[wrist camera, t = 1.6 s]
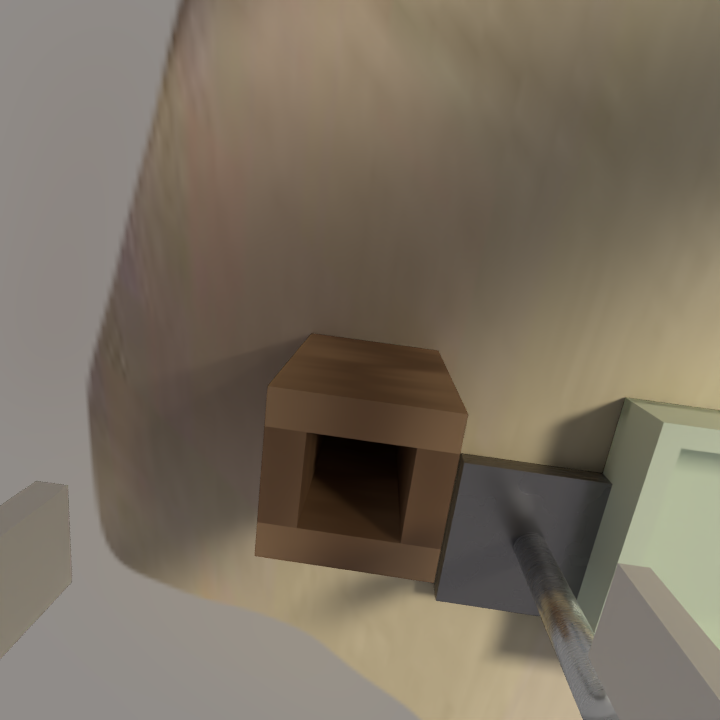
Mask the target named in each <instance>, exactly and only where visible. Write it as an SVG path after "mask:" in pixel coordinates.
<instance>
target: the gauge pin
mask: <svg viewBox="0 0 720 720" xmlns="http://www.w3.org/2000/svg"><path fill="white" fill-rule="evenodd" d="M612 485H613V484H612V483H611V482H610V481H609V480H608V479H607V478H606V477H605V475H604V474H603V473H596V472H589V471H582V470H575V469H568V468H561V467H554V466H547V465H540V464H533V463H526V462H519V461H512V460H505V459H498V458H491V457H484V456H477V455H470V454H463V453H461V456H460V461H459V466H458V471H457V476H456V480H455V485H454V490H453V495H452V500H451V505H450V510H449V515H448V519H447V524H446V529H445V534H444V539H443V544H442V549H441V554H440V558H439V563H438V568H437V573H436V578H435V583H434V591H435V599H436V601H442V602H449V603H455V604H462V605H469V606H475V607H482V608H488V609H495V610H502V611H508V612H515V613H521V614H528V615H535V616H541V619H542V621H543V623H544V626H545V628H546V631H547V633H548V636H549V638H550V640H551V643H552V645H553V648H554V650H555V653H556V655H557V658H558V660H559V662H560V665H561V667H562V670H563V672H564V675H565V677H566V680H567V682H568V684H569V687H570V689H571V692H572V694H573V697H574V699H575V701H576V704H577V706H578V709H579V711H580V714H581V716H582V718H583V720H619V718H618V716H617V714H616V712H615V710H614V708H613V706H612V704H611V702H610V700H609V698H608V696H607V694H606V692H605V690H604V688H603V686H602V684H601V682H600V680H599V678H598V676H597V674H596V672H595V670H594V668H593V666H592V664H591V662H590V660H589V658H588V654H589V651H590V648H591V644H592V641H593V638H594V635H595V634H594V632H593V630H592V628H591V627H590V625H589V623H588V621H587V619H586V617H585V615H584V613H583V611H582V610H581V608H580V606H579V604H578V602H577V598H578V594H579V591H580V588H581V585H582V581H583V578H584V575H585V572H586V569H587V565H588V562H589V559H590V556H591V552H592V549H593V546H594V543H595V539H596V536H597V533H598V530H599V527H600V523H601V520H602V517H603V514H604V510H605V507H606V504H607V501H608V497H609V494H610V491H611V488H612Z"/></svg>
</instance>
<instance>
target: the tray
mask: <svg viewBox="0 0 720 720" xmlns="http://www.w3.org/2000/svg"><path fill="white" fill-rule="evenodd" d="M603 474H604V475H605V477H606V478H607V479H608V480H609V481H610V482H611V483H612V484H613V485H612V488H611V491H610V494H609V497H608V501H607V504H606V507H605V510H604V514H603V517H602V520H601V523H600V527H599V530H598V533H597V536H596V539H595V543H594V546H593V549H592V552H591V556H590V559H589V562H588V565H587V569H586V572H585V575H584V578H583V581H582V585H581V588H580V591H579V594H578V598H577V602H578V604H579V606H580V608H581V610H582V611H583V613H584V615H585V617H586V619H587V621H588V623H589V625H590V627H591V628H592V630H593V632H594V634H595V632H596V629H597V626H598V623H599V620H600V617H601V614H602V610H603V607H604V604H605V601H606V598H607V595H608V592H609V589H610V586H611V583H612V579H613V576H614V573H615V570H616V567H617V564H618V563H621V564H628V565H635V566H642V567H649V568H651V569H652V570H653V571H654V572H655V574H656V575H657V576H658V577H659V578H660V580H661V581H662V582H663V583H664V584H665V586H666V587H667V588H668V589H669V590H670V592H671V593H672V594H673V595H674V596H675V598H676V599H677V600H678V601H679V602H680V604H681V605H682V606H683V607H684V608H685V610H686V611H687V612H688V613H689V614H690V616H691V617H692V618H693V619H694V620H695V622H696V623H697V624H698V625H699V626H700V628H701V629H702V630H703V631H704V632H705V634H706V635H707V636H708V637H709V638H710V640H711V641H712V642H713V643H714V644H715V646H716V647H717V648H718V649H719V650H720V411H719V410H712V409H705V408H698V407H691V406H683V405H676V404H669V403H662V402H654V401H647V400H640V399H633V398H625V401H624V404H623V408H622V411H621V414H620V418H619V421H618V424H617V428H616V431H615V434H614V438H613V441H612V444H611V448H610V451H609V454H608V457H607V461H606V464H605V467H604V471H603Z"/></svg>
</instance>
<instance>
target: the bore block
mask: <svg viewBox="0 0 720 720" xmlns="http://www.w3.org/2000/svg"><path fill="white" fill-rule="evenodd" d="M467 418H468V413H467V411H466V408H465V406H464V404H463V402H462V400H461V398H460V396H459V394H458V391H457V389H456V387H455V385H454V383H453V381H452V379H451V377H450V375H449V372H448V370H447V368H446V366H445V364H444V362H443V360H442V358H441V355H440V353H439V351H437V350H429V349H422V348H415V347H408V346H400V345H393V344H386V343H378V342H371V341H364V340H357V339H349V338H342V337H335V336H327V335H320V334H313V333H312V334H311V335H310V336H309V337H308V338H307V340H306V341H305V342H304V343H303V344H302V346H301V347H300V348H299V349H298V350H297V352H296V353H295V354H294V355H293V356H292V358H291V359H290V360H289V361H288V362H287V363H286V365H285V366H284V367H283V368H282V369H281V371H280V372H279V373H278V374H277V375H276V377H275V378H274V379H273V380H272V381H271V383H270V384H269V385H268V386H267V399H266V412H265V426H264V439H263V452H262V465H261V478H260V491H259V504H258V518H257V531H256V544H255V556H259V557H265V558H272V559H278V560H285V561H292V562H298V563H305V564H312V565H318V566H325V567H332V568H338V569H345V570H352V571H358V572H365V573H371V574H378V575H385V576H391V577H398V578H405V579H411V580H418V581H425V582H431V583H434V579H435V575H436V570H437V565H438V560H439V555H440V550H441V545H442V540H443V536H444V531H445V526H446V521H447V516H448V511H449V506H450V501H451V496H452V492H453V487H454V482H455V477H456V472H457V467H458V462H459V457H460V452H461V448H462V443H463V438H464V433H465V428H466V423H467Z"/></svg>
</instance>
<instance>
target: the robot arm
mask: <svg viewBox="0 0 720 720" xmlns="http://www.w3.org/2000/svg"><path fill="white" fill-rule="evenodd" d="M70 545H71V544H70V522H69V500H68V485H62V484H55V483H48V482H41V481H35V482H34V483H33V484H31V485H30V486H28V487H27V488H25V489H24V490H23V491H21V492H20V493H18V494H16V495H15V496H14V497H12V498H11V499H9V500H7V501H6V502H5V503H3V504H2V505H0V659H1V658H2V657H3V656H4V655H5V654H6V653H7V652H8V651H9V649H10V648H11V647H12V646H13V645H14V644H15V643H16V642H17V641H18V640H19V639H20V638H21V636H22V635H23V634H24V633H25V632H26V631H27V630H28V629H29V628H30V627H31V625H32V624H33V623H34V622H35V621H36V620H37V619H38V618H39V617H40V616H41V615H42V614H43V613H44V612H45V610H46V609H47V608H48V607H49V606H50V605H51V604H52V603H53V602H54V600H55V599H56V598H57V597H58V596H59V595H60V594H61V593H62V592H63V591H64V590H65V589H66V588H67V587H68V585H69V584H70V583H71V582H72V567H71V546H70ZM588 658H589V660H590V662H591V664H592V666H593V668H594V670H595V672H596V674H597V676H598V678H599V680H600V682H601V684H602V686H603V688H604V690H605V692H606V694H607V696H608V698H609V700H610V702H611V704H612V706H613V708H614V710H615V712H616V714H617V716H618V718H619V720H720V650H719V649H718V648H717V647H716V646H715V644H714V643H713V642H712V641H711V640H710V638H709V637H708V636H707V635H706V634H705V632H704V631H703V630H702V629H701V628H700V626H699V625H698V624H697V623H696V622H695V620H694V619H693V618H692V617H691V616H690V614H689V613H688V612H687V611H686V610H685V608H684V607H683V606H682V605H681V604H680V602H679V601H678V600H677V599H676V598H675V596H674V595H673V594H672V593H671V592H670V590H669V589H668V588H667V587H666V586H665V584H664V583H663V582H662V581H661V580H660V578H659V577H658V576H657V575H656V574H655V572H654V571H653V570H652V569H651V568H649V567H642V566H635V565H628V564H621V563H618V564H617V567H616V570H615V573H614V576H613V579H612V583H611V586H610V589H609V592H608V595H607V598H606V601H605V604H604V607H603V610H602V614H601V617H600V620H599V623H598V626H597V629H596V632H595V635H594V638H593V641H592V644H591V648H590V651H589V654H588Z"/></svg>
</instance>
